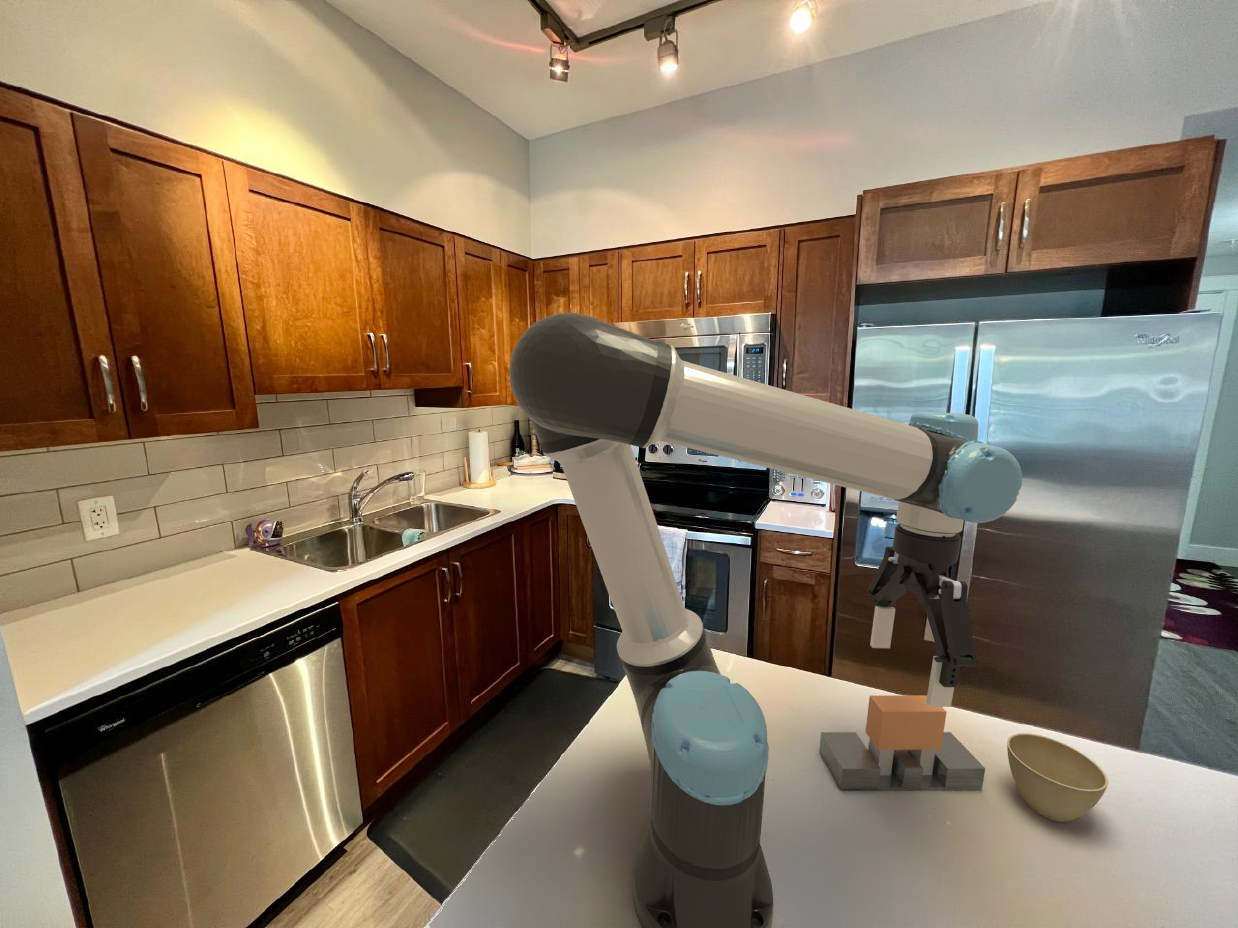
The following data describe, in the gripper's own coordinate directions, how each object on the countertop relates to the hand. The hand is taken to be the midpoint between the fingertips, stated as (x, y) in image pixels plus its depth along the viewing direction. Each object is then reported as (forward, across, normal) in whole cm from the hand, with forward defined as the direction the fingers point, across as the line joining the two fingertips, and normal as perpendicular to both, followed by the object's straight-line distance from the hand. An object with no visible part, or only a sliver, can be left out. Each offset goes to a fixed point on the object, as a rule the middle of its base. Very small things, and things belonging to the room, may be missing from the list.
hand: (906, 673), depth 68 cm
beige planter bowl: (+16, -6, -18) cm, 24 cm away
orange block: (+15, 0, -1) cm, 15 cm away
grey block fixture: (+16, 0, -1) cm, 16 cm away
